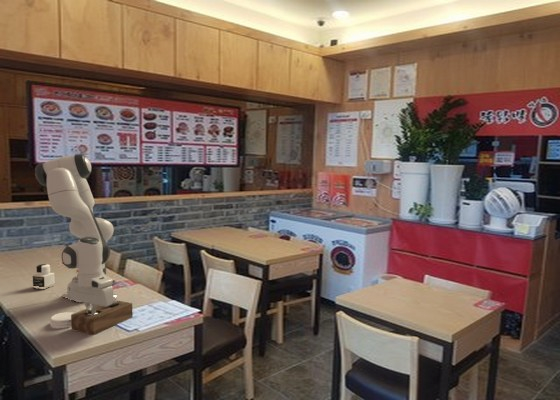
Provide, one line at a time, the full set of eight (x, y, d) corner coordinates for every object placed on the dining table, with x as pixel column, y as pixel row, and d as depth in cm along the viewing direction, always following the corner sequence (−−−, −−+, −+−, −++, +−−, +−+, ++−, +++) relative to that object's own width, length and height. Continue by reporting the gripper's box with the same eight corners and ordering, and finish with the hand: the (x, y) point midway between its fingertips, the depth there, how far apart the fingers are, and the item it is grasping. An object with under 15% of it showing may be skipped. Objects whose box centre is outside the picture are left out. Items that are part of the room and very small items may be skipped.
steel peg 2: (105, 307, 171) (105, 296, 171) (112, 305, 174) (112, 293, 174) (112, 309, 170) (112, 297, 169) (119, 306, 173) (118, 294, 173)
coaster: (82, 319, 172) (82, 311, 172) (71, 329, 162) (70, 320, 162) (58, 319, 172) (57, 311, 172) (45, 329, 162) (44, 320, 162)
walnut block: (71, 329, 161) (71, 314, 161) (111, 312, 180) (110, 299, 179) (94, 334, 156) (93, 319, 156) (132, 317, 175) (132, 303, 174)
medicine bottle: (32, 289, 212) (31, 266, 210) (43, 285, 218) (42, 262, 217) (44, 290, 210) (43, 267, 209) (55, 286, 217) (54, 263, 216)
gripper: (65, 277, 163) (66, 311, 164) (103, 284, 154) (104, 320, 156) (78, 274, 169) (79, 306, 170) (116, 280, 160) (117, 315, 161)
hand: (91, 313), depth 163 cm, fingers closed, pressing on steel peg 1
